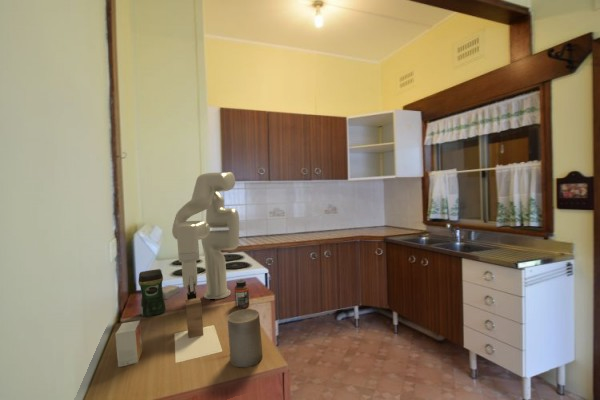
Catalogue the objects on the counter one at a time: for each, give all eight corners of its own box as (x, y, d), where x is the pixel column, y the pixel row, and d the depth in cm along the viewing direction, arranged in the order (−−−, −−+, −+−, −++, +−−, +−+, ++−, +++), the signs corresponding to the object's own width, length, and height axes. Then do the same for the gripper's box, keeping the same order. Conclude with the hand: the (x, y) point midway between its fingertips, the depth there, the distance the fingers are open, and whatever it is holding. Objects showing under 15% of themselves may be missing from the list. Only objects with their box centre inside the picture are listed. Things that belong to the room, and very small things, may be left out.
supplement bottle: (238, 303, 142) (237, 278, 141) (251, 303, 141) (249, 278, 140) (233, 308, 136) (231, 282, 135) (246, 309, 135) (244, 283, 134)
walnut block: (187, 332, 115) (185, 300, 114) (202, 329, 117) (199, 297, 116) (188, 338, 110) (186, 304, 110) (203, 335, 112) (201, 302, 112)
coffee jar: (165, 307, 141) (162, 266, 140) (166, 313, 134) (163, 270, 133) (141, 312, 137) (138, 270, 136) (140, 318, 130) (137, 274, 129)
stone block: (149, 303, 153) (167, 299, 151) (147, 293, 153) (165, 289, 151) (165, 295, 164) (181, 291, 163) (162, 286, 165) (179, 282, 163)
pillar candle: (256, 347, 103) (252, 302, 102) (267, 361, 95) (263, 312, 94) (226, 356, 99) (222, 309, 98) (235, 372, 90) (231, 321, 89)
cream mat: (174, 334, 115) (174, 333, 115) (214, 326, 120) (214, 325, 120) (175, 364, 95) (175, 362, 95) (222, 352, 101) (222, 351, 101)
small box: (138, 363, 97) (135, 330, 96) (117, 367, 95) (114, 333, 94) (143, 350, 104) (140, 319, 104) (124, 354, 103) (121, 322, 102)
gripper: (178, 253, 126) (181, 298, 127) (179, 261, 112) (182, 312, 113) (197, 251, 129) (200, 295, 130) (201, 258, 115) (204, 308, 116)
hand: (192, 303), depth 121 cm, fingers closed
